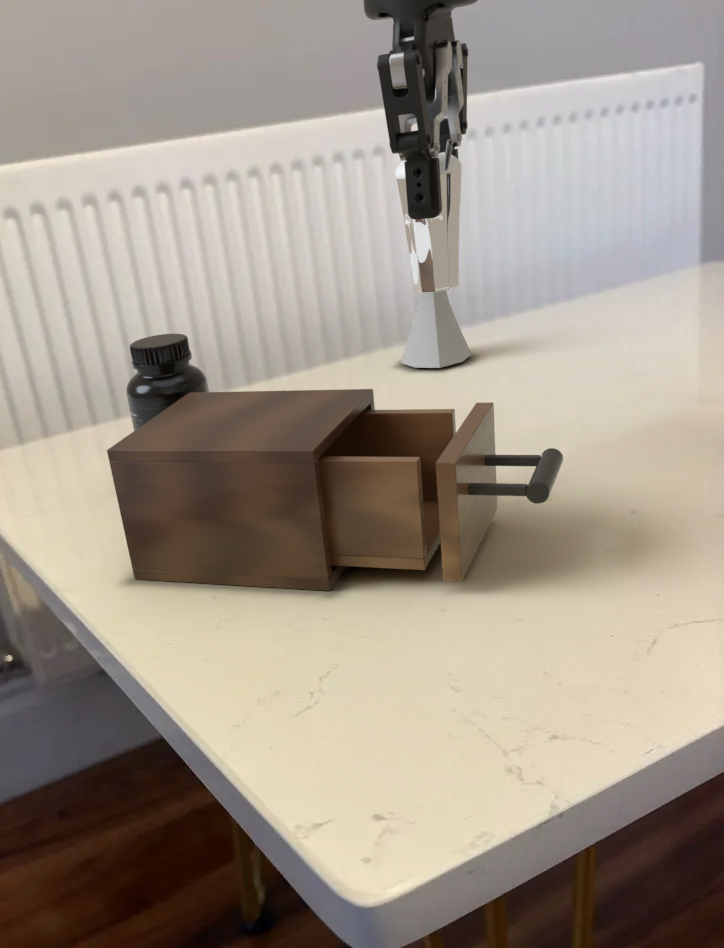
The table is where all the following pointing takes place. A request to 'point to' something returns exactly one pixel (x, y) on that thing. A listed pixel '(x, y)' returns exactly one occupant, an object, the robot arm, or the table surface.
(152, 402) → the supplement bottle
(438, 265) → the milkshake
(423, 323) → the flask
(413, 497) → the drawer
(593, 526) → the table surface
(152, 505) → the cabinet
